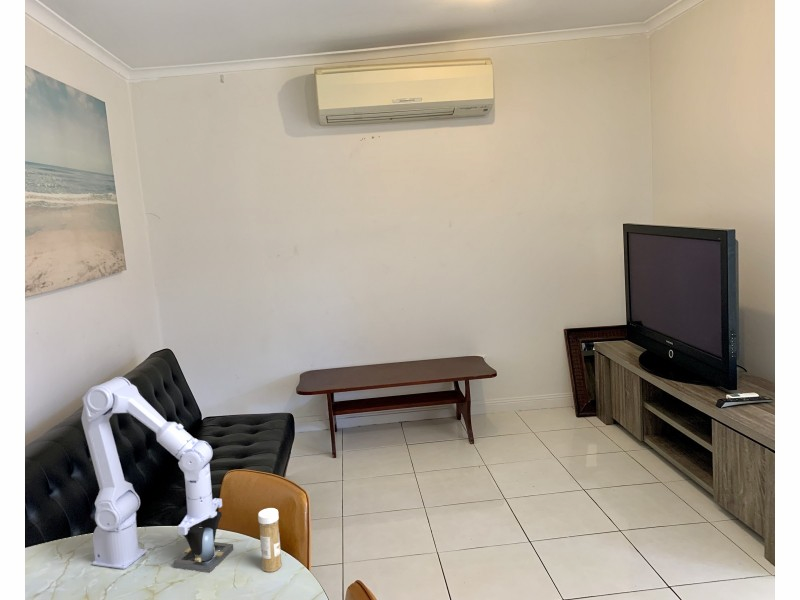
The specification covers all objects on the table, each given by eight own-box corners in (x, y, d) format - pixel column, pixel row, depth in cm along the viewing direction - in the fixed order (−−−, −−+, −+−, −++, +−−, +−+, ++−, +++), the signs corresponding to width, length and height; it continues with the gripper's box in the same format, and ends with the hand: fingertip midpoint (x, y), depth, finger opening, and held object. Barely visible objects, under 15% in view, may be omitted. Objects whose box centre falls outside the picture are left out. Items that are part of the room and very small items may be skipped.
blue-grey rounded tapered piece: (204, 564, 132) (202, 539, 131) (189, 561, 133) (187, 537, 133) (220, 551, 137) (218, 527, 137) (205, 548, 139) (203, 525, 138)
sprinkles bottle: (285, 568, 130) (281, 512, 129) (266, 575, 127) (261, 518, 126) (277, 559, 134) (273, 505, 132) (259, 566, 131) (255, 511, 130)
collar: (173, 567, 132) (173, 561, 132) (199, 545, 141) (198, 539, 141) (210, 572, 129) (209, 565, 129) (233, 549, 139) (233, 543, 139)
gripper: (194, 509, 126) (199, 567, 127) (231, 482, 140) (235, 534, 141) (167, 507, 128) (172, 563, 129) (206, 480, 142) (210, 531, 143)
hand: (203, 548), depth 135 cm, fingers closed on blue-grey rounded tapered piece, 4 cm apart
